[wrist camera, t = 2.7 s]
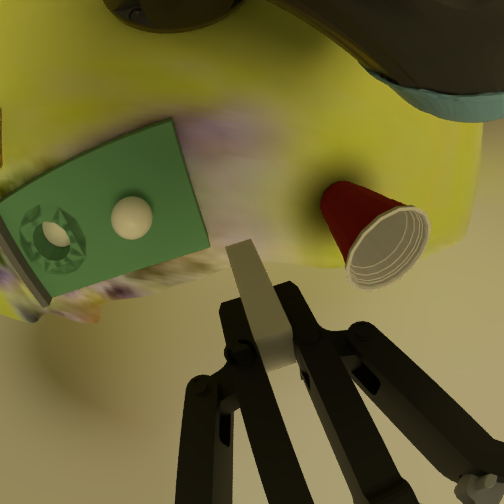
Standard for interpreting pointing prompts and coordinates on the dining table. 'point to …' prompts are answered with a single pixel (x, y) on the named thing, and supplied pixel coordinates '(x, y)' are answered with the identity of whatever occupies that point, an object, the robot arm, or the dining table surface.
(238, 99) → the dining table surface
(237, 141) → the dining table surface
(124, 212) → the ball
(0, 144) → the medicine bottle
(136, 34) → the dining table surface
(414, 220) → the plastic cup
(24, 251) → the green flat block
